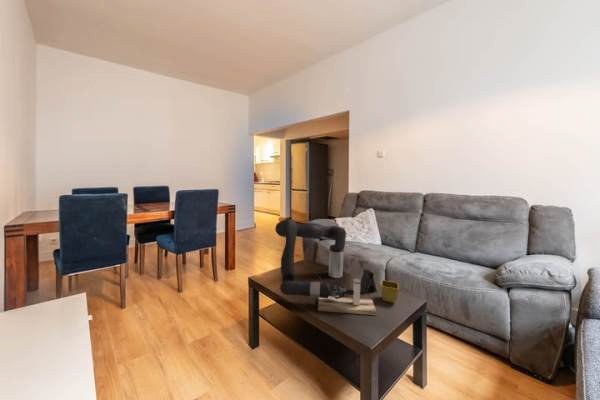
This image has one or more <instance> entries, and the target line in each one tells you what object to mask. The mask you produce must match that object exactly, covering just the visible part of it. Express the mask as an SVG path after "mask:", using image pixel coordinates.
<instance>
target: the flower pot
mask: <svg viewBox="0 0 600 400" xmlns="http://www.w3.org/2000/svg"><path fill="white" fill-rule="evenodd" d="M380 287H381V289H380V291H381V297H382V300H383V302H387V303H393V304H394V303H395V302H396V300H397V299H398V295H399V292H400V291H399V290H400V288H399V282H395V281H390V280H389V281H388V280H381V286H380Z"/></svg>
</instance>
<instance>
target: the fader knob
mask: <svg viewBox="0 0 600 400" xmlns="http://www.w3.org/2000/svg"><path fill="white" fill-rule="evenodd" d="M352 280H353V281H352V282H353V284H352V286H353V287H352V290H353V291H354V294H353V295H352V298H353V305H359V303H360V299H361V291H360V284H361V279H360V278H353V279H352Z"/></svg>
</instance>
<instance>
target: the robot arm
mask: <svg viewBox="0 0 600 400" xmlns="http://www.w3.org/2000/svg"><path fill="white" fill-rule="evenodd" d="M274 230H275V233H276V234H277V236H279V237H282V238H285V243H284V249H283V252H282V254H281V259H280V273H281V281H282V282H281V283H280V287H279V289H280V292H281V294H283V295H285V296H303V297H312V298H318V299H319V298H328V296H332V297H335V299H338V298H342V297H345V296H347V295H349V296H353V294H354V291H353V288H352V289H350V288H348V289H347V288H346V287H345V286H343V285H340V284H337V283H335V284H334V285H330V284H329V282H325V281H324V282H323V281H322V282H321V281H295V247H296V241H297V240H296V239H297V237H298V238H303V239H313V240H315V239H316V240H317V239H321V238H326V239H330V240H332V241H335V242H334V244H331V245H330V246H329V257H328V259H329V261H328V276H329V277H330V278H334V279H340V278H342V277H343V272H344V271H343V270H344V269H343V267H344V251H345V250H344V249H345V246H346V240H347V239H346V237H347V233H346V229H345V228H344V227H342V226H341V227H340V226H336V225H322V224H320V223H312V222H306V223H297V222H296V221H295V220H294V219H292V218H286V219H284V220H280V221H279V222H277V223H276V225H275V229H274ZM345 298H346V297H345Z"/></svg>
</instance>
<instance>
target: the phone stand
mask: <svg viewBox="0 0 600 400" xmlns="http://www.w3.org/2000/svg"><path fill="white" fill-rule="evenodd" d="M362 272H363V274H362V277H361V279H360V282H361V284H360V293H362V294H365V295H366V294H367V295H368V294H373V293H377V292H378V290H377V287H376V282H375V278H374V273H373V272H372V271H370V270H368V269H367V268H366V269H364V270H363V271H362Z"/></svg>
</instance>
